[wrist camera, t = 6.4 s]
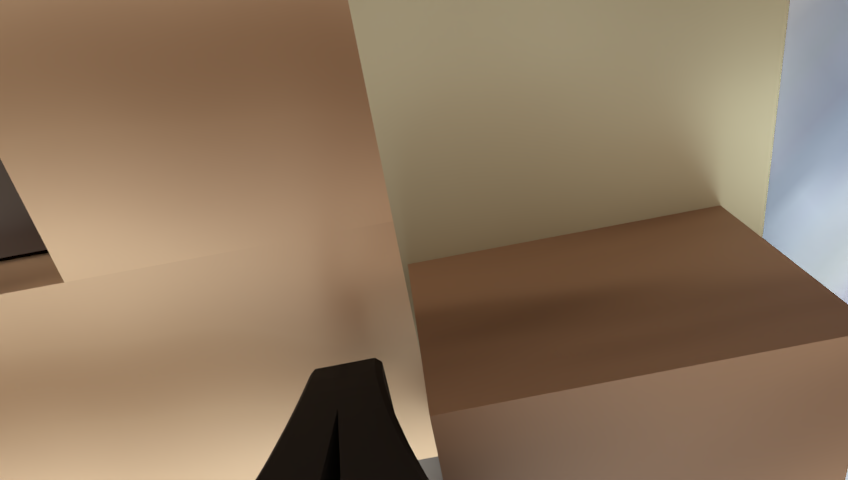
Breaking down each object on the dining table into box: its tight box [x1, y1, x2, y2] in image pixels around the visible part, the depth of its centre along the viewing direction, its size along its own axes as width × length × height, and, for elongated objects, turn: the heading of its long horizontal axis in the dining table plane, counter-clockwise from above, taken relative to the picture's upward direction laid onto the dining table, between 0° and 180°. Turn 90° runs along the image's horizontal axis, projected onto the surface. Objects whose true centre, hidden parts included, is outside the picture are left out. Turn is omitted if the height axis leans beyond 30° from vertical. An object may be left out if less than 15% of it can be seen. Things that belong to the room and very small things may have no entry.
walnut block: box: [408, 205, 848, 480], centre depth 11 cm, size 4×6×4 cm, turn 99°
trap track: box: [0, 0, 790, 480], centre depth 13 cm, size 17×26×2 cm, turn 99°
